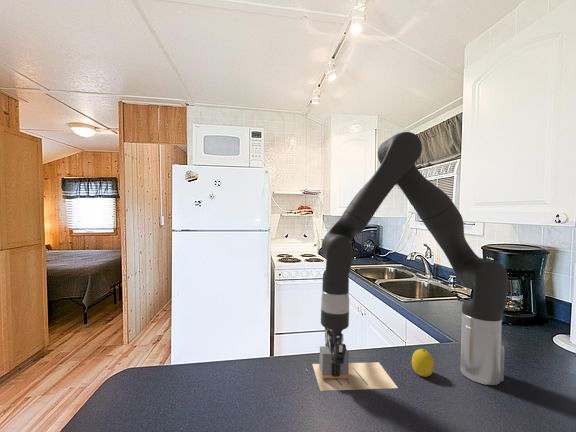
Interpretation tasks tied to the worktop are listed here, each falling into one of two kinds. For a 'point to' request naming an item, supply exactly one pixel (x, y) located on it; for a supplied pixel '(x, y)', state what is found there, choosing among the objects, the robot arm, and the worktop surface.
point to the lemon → (422, 363)
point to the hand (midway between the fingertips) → (333, 370)
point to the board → (357, 378)
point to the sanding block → (326, 363)
